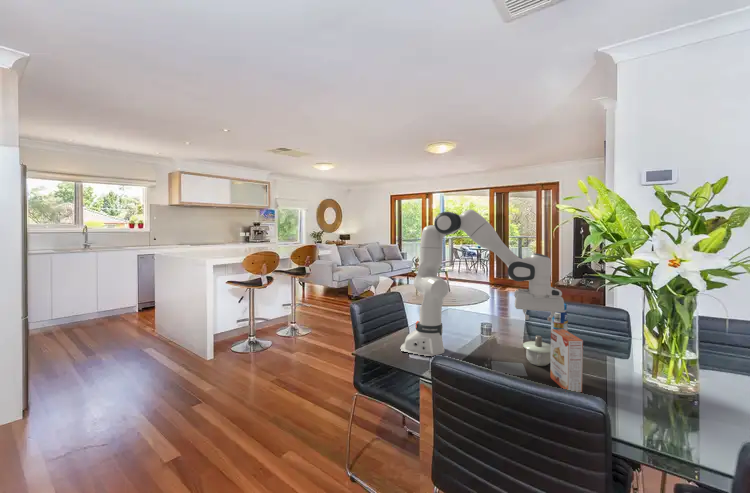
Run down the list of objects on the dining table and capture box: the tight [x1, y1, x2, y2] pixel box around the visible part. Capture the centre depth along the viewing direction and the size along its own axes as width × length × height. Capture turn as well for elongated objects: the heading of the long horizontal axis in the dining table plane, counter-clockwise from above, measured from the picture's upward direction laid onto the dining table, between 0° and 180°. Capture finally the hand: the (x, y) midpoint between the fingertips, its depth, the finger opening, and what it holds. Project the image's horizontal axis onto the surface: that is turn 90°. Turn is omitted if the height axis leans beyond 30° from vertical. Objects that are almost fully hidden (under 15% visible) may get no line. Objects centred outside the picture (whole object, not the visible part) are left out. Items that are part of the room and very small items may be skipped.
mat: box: [490, 360, 528, 377], centre depth 156 cm, size 14×14×1 cm
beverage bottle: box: [550, 302, 569, 332], centre depth 194 cm, size 8×8×20 cm
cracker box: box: [549, 329, 584, 393], centre depth 138 cm, size 14×6×21 cm, turn 178°
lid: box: [522, 335, 551, 353], centre depth 159 cm, size 13×13×5 cm
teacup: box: [525, 349, 551, 367], centre depth 160 cm, size 14×11×8 cm
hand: (538, 320), depth 158 cm, fingers open, 8 cm apart
